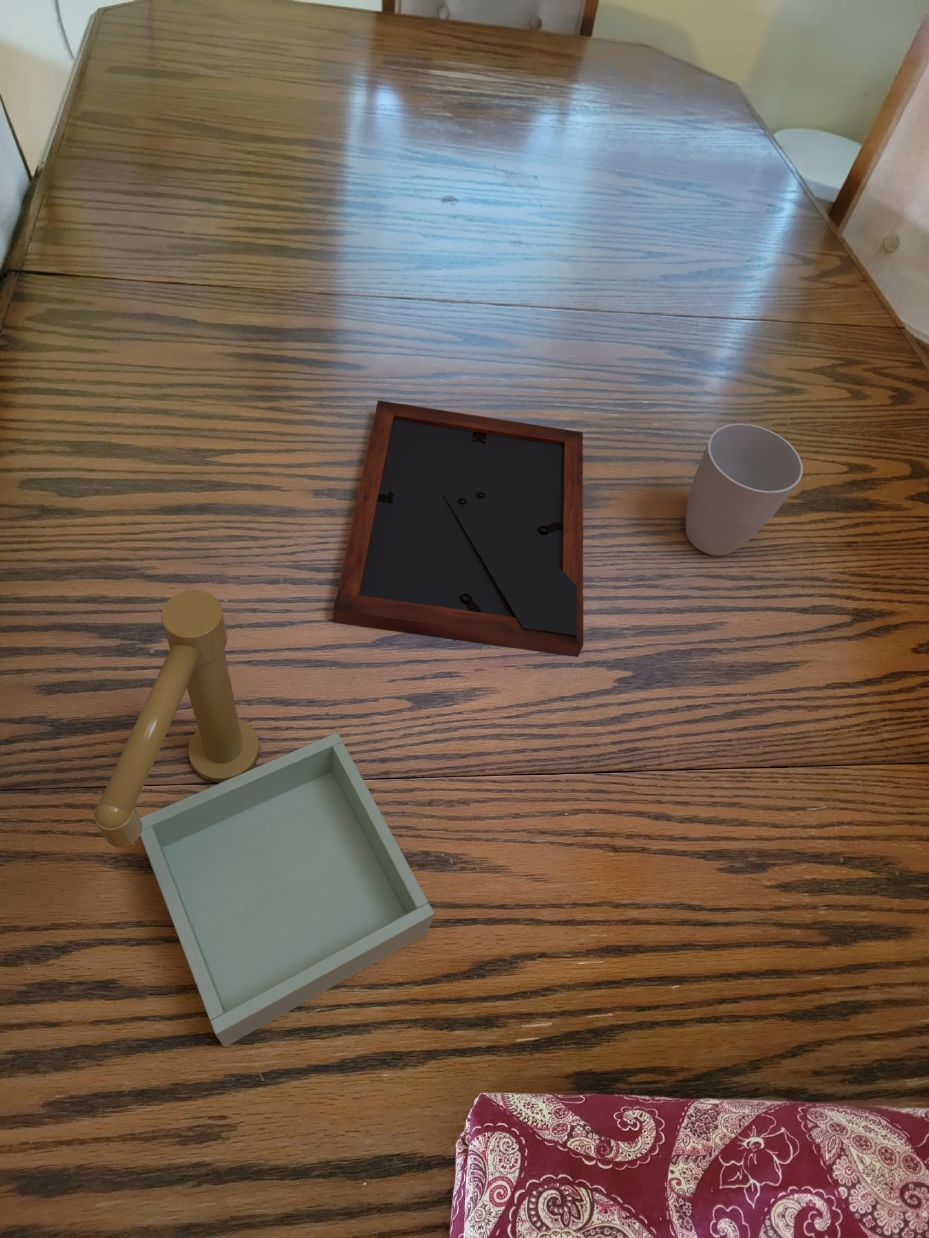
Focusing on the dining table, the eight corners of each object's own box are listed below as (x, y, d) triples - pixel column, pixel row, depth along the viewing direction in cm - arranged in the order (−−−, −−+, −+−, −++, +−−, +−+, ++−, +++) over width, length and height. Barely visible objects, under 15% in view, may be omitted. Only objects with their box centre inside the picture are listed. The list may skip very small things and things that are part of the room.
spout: (184, 624, 49) (174, 584, 46) (237, 636, 49) (230, 596, 46) (85, 840, 42) (64, 809, 38) (147, 853, 42) (132, 824, 38)
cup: (766, 567, 76) (818, 491, 68) (684, 571, 75) (727, 494, 66) (736, 501, 81) (781, 422, 73) (658, 503, 79) (695, 423, 71)
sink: (427, 933, 54) (434, 913, 50) (224, 1047, 49) (215, 1034, 45) (337, 761, 60) (337, 731, 56) (147, 846, 55) (134, 819, 51)
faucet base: (238, 793, 58) (215, 692, 46) (176, 767, 58) (138, 661, 47) (271, 736, 60) (257, 627, 49) (211, 712, 61) (183, 599, 49)
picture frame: (578, 656, 68) (578, 445, 82) (584, 643, 66) (583, 430, 81) (333, 622, 67) (377, 414, 81) (333, 607, 65) (378, 398, 80)
